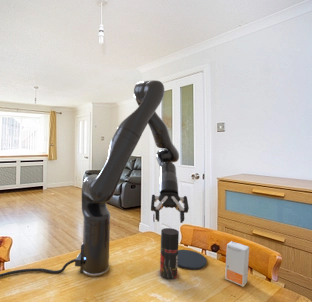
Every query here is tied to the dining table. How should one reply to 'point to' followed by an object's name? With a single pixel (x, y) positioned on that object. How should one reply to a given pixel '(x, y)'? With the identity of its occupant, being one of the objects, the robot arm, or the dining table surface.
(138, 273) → the dining table surface
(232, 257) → the cosmetic box
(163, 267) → the deodorant
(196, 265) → the mat
